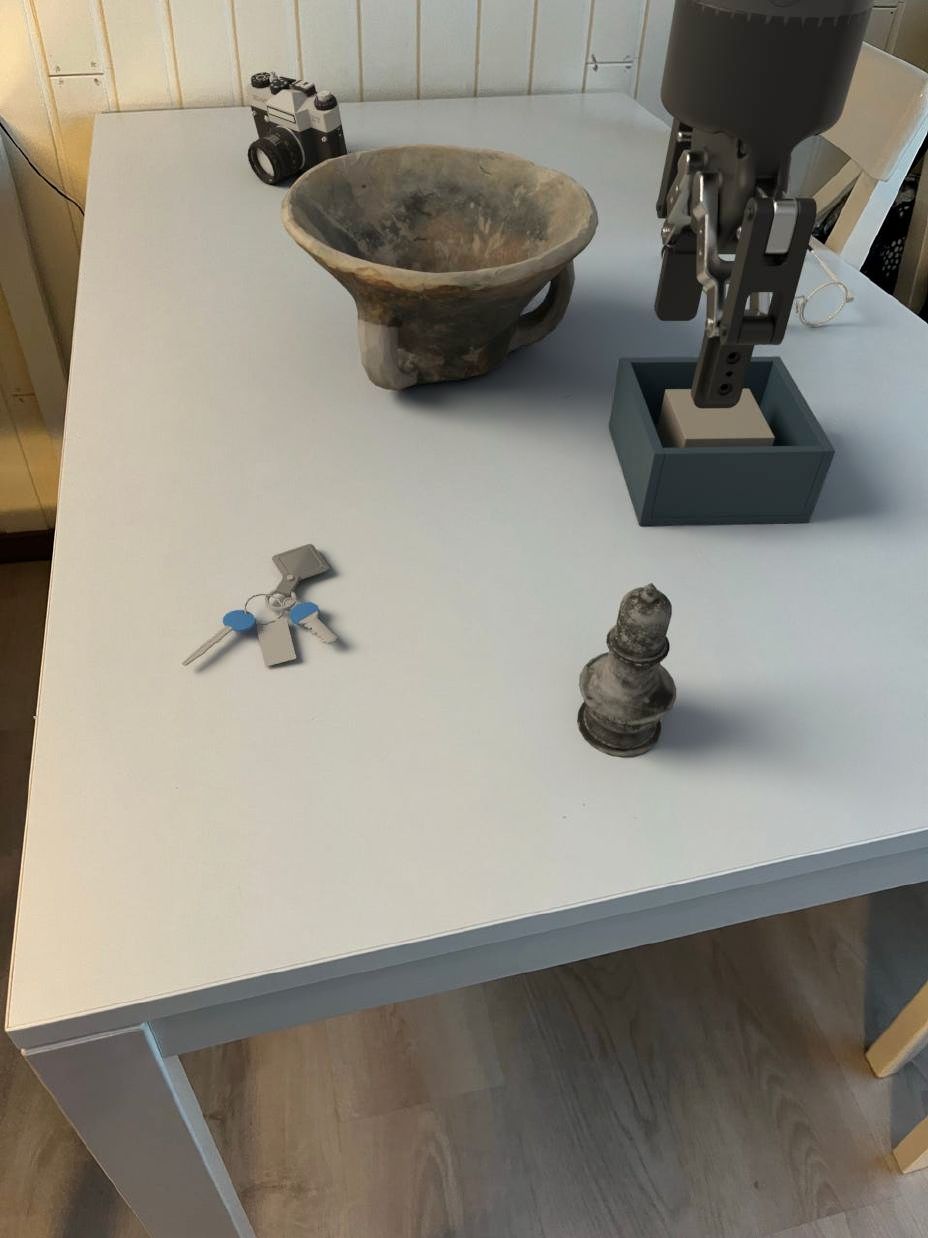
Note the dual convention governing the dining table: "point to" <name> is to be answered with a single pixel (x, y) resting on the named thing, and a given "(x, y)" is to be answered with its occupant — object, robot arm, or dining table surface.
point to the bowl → (442, 253)
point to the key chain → (280, 610)
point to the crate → (717, 451)
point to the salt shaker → (629, 678)
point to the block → (711, 423)
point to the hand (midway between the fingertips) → (692, 358)
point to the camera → (292, 126)
